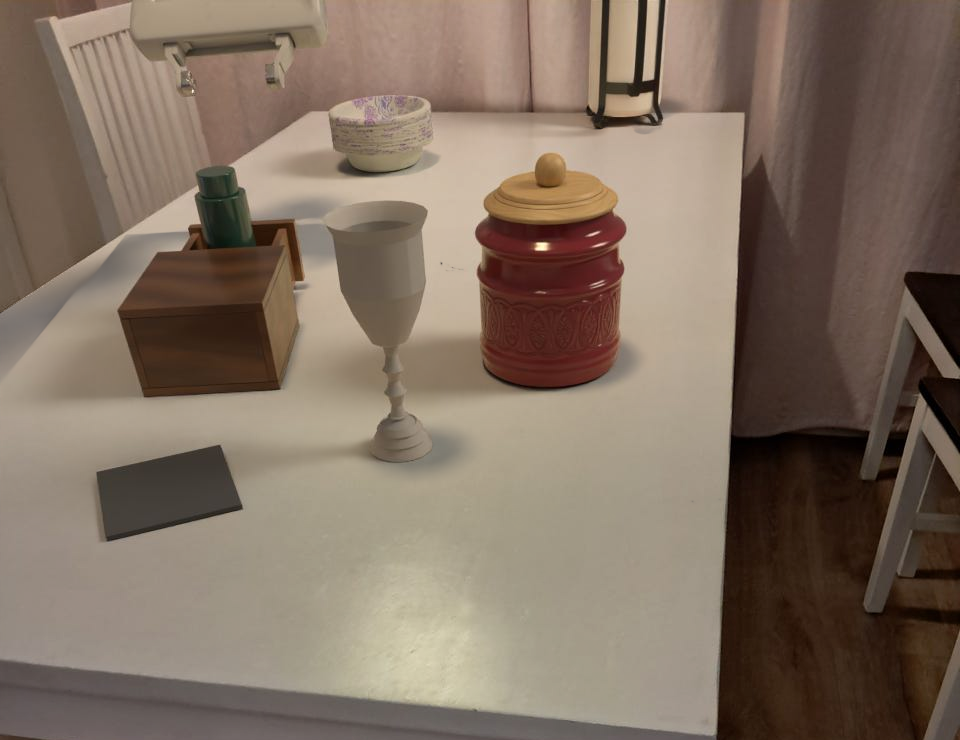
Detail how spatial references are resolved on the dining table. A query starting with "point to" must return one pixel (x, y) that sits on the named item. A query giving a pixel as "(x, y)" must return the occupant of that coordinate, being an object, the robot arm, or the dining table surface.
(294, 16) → the robot arm
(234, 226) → the bottle
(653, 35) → the lantern
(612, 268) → the kitchen canister
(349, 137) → the paper bowls
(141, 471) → the mat
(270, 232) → the drawer
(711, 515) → the dining table surface
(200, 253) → the brown wooden box
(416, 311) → the chalice
